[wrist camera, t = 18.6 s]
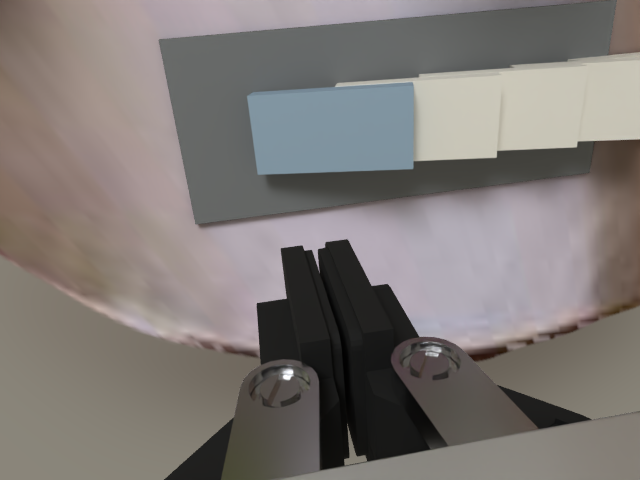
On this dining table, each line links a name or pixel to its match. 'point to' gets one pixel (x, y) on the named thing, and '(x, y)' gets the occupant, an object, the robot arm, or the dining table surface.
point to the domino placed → (333, 129)
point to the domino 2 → (538, 105)
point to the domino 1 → (453, 115)
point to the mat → (353, 66)
